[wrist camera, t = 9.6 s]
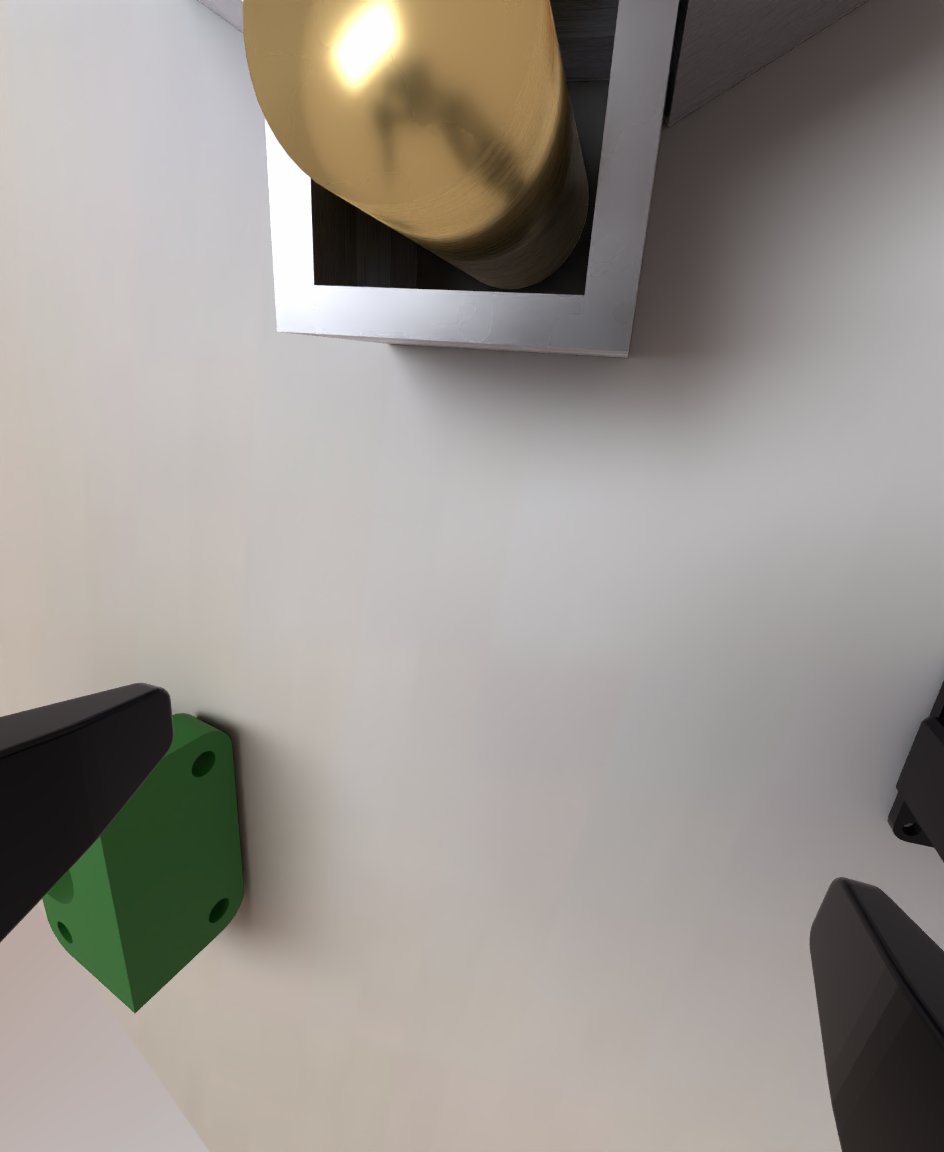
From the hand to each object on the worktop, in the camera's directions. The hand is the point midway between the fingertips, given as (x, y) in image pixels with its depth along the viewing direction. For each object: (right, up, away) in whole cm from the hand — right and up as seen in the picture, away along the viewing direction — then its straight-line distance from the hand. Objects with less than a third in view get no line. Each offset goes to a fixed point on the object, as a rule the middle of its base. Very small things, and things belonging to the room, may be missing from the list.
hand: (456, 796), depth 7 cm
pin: (+1, +13, +8) cm, 15 cm away
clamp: (-14, -7, +20) cm, 25 cm away
